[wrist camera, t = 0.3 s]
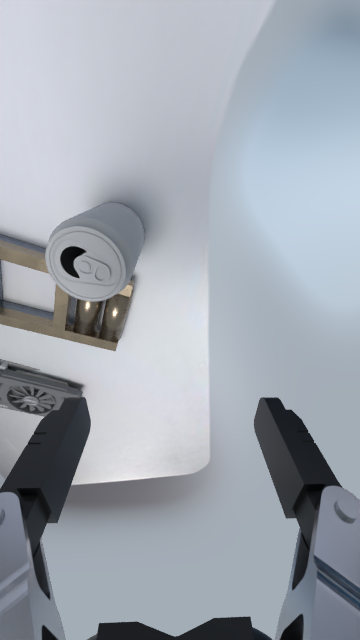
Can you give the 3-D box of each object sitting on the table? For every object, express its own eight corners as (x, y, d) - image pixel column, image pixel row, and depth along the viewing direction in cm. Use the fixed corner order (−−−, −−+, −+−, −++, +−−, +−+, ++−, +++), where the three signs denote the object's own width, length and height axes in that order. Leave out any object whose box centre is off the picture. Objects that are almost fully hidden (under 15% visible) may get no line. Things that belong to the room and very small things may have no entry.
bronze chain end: (-16, 229, 26) (-36, 235, 23) (137, 277, 29) (134, 287, 27) (-9, 306, 31) (-25, 318, 28) (120, 338, 35) (116, 351, 32)
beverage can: (98, 190, 24) (45, 201, 14) (153, 218, 26) (143, 246, 16) (83, 245, 27) (32, 287, 17) (134, 267, 29) (115, 317, 19)
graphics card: (-34, 414, 39) (-37, 369, 33) (-19, 395, 42) (-19, 351, 36) (68, 434, 43) (81, 397, 37) (75, 416, 46) (88, 379, 40)
